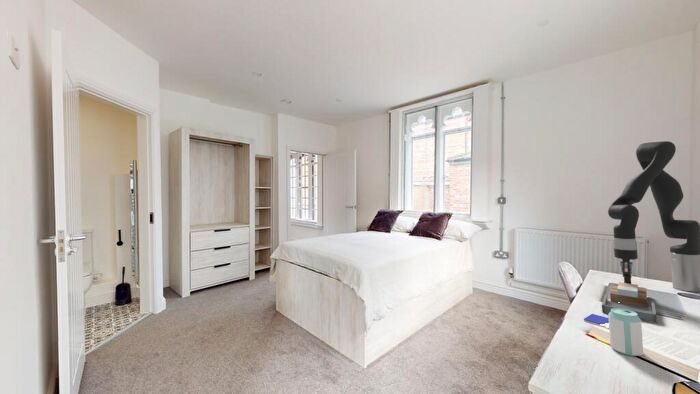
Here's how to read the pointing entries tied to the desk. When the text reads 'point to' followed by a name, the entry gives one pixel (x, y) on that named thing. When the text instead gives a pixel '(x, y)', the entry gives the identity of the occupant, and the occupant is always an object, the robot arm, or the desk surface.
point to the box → (631, 309)
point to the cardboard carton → (627, 299)
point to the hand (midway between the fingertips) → (627, 285)
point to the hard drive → (596, 319)
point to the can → (625, 332)
